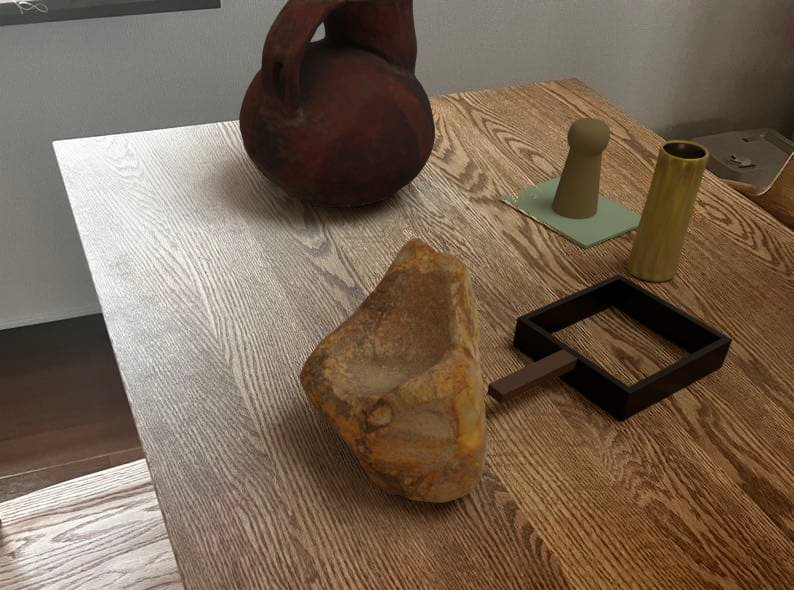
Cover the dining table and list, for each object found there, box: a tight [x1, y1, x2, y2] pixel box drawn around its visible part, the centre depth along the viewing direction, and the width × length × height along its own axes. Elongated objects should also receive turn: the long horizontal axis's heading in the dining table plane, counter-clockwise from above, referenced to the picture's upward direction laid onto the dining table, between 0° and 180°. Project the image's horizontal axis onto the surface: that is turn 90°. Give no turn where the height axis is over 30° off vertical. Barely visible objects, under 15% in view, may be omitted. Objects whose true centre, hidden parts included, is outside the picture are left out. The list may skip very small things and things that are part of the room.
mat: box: [501, 176, 642, 250], centre depth 109 cm, size 12×16×1 cm
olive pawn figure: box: [551, 117, 611, 219], centre depth 105 cm, size 6×6×11 cm
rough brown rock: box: [299, 237, 488, 503], centre depth 73 cm, size 23×17×15 cm
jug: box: [238, 0, 436, 208], centre depth 103 cm, size 25×25×25 cm
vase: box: [624, 139, 710, 283], centre depth 94 cm, size 6×6×14 cm
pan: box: [486, 273, 733, 423], centre depth 84 cm, size 26×16×4 cm, turn 127°
